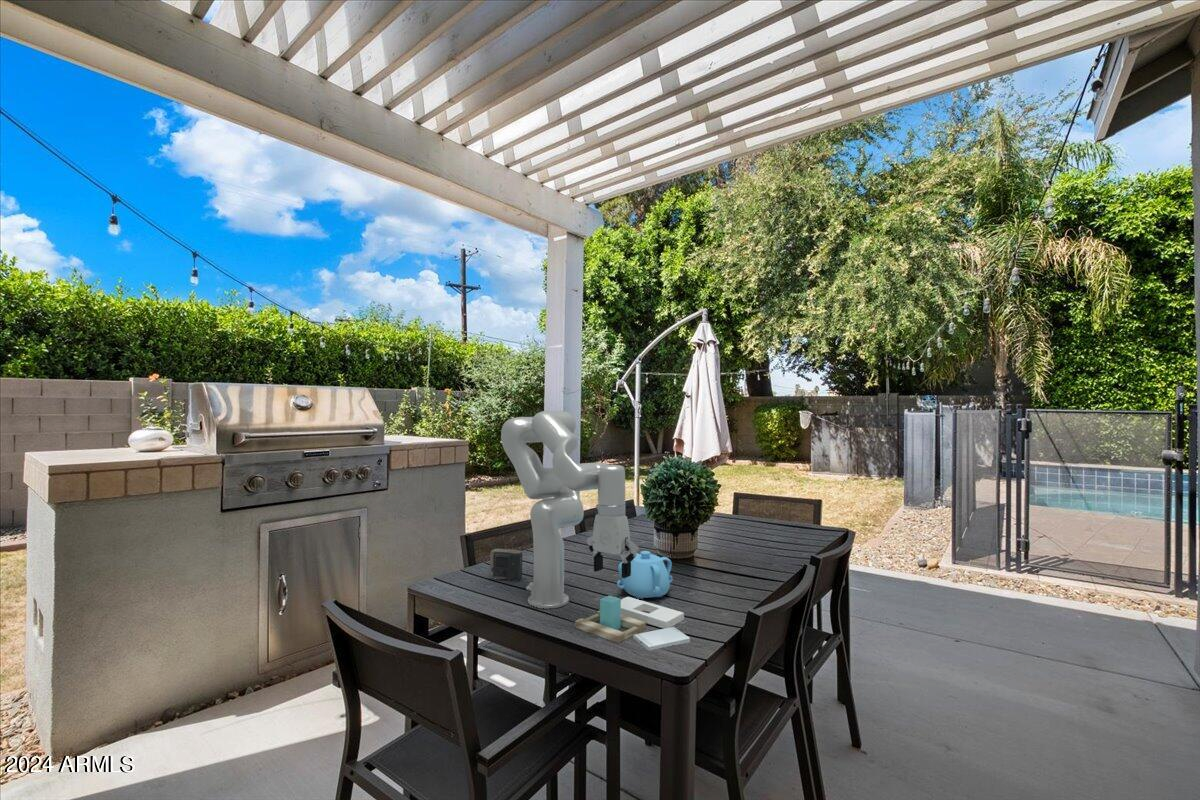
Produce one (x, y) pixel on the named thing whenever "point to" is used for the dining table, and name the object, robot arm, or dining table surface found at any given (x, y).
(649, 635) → the hard drive
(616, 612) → the plug
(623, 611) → the port panel
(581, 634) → the dining table surface
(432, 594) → the dining table surface
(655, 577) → the decorative pot
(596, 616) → the tan hollow rectangular frame
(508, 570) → the camera
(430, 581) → the dining table surface
